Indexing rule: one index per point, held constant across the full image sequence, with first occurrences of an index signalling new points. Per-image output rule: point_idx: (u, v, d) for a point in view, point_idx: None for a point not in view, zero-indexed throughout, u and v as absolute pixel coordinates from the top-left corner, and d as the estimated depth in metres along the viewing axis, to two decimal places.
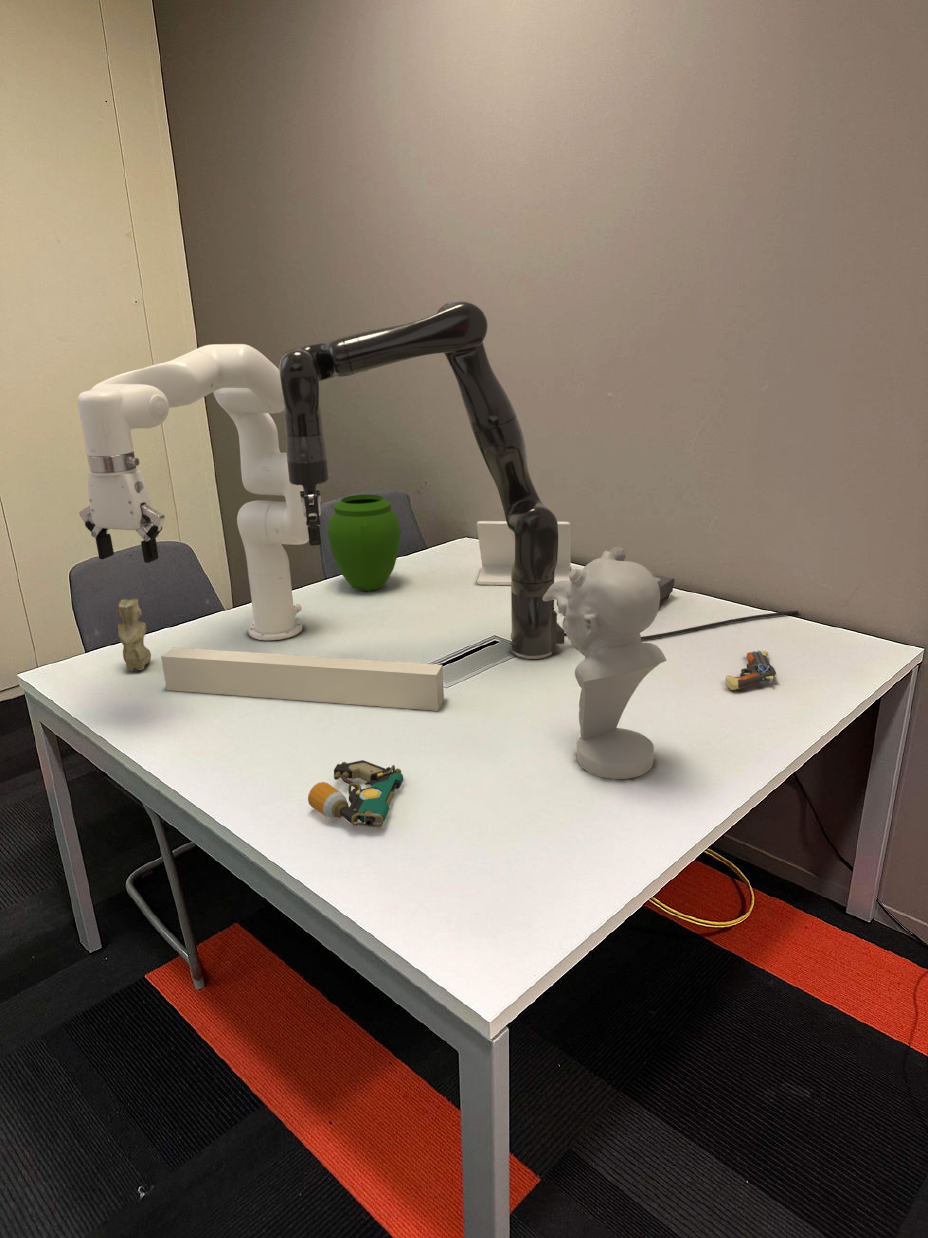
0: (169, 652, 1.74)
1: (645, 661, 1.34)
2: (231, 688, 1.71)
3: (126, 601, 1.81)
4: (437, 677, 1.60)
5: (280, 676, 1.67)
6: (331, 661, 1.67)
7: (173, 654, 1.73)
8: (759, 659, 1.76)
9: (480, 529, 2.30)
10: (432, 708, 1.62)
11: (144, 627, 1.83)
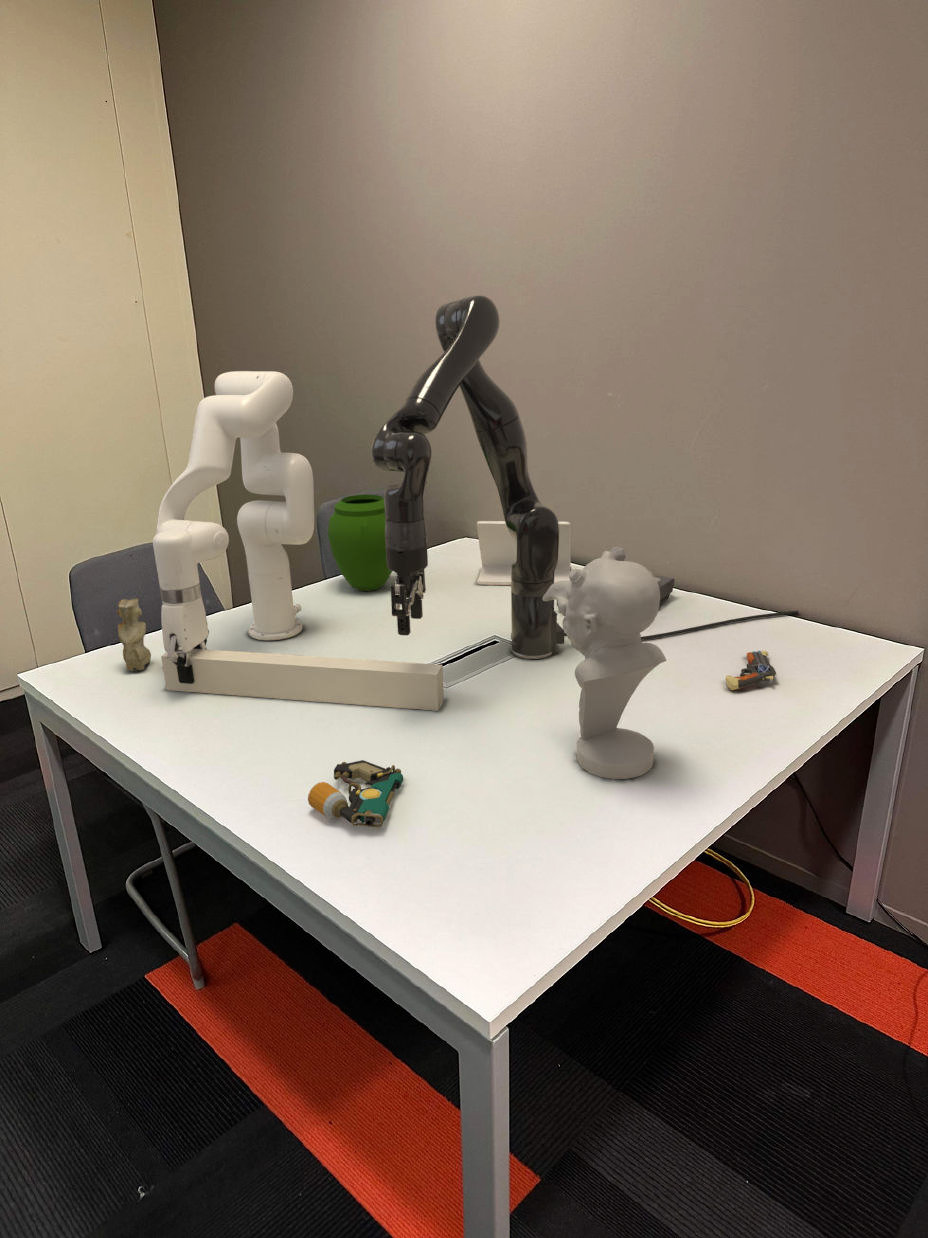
0: None
1: (645, 661, 1.34)
2: (231, 688, 1.71)
3: (126, 601, 1.81)
4: (437, 677, 1.60)
5: (280, 676, 1.67)
6: (331, 661, 1.67)
7: None
8: (759, 659, 1.76)
9: (480, 529, 2.30)
10: (432, 708, 1.62)
11: (144, 627, 1.83)
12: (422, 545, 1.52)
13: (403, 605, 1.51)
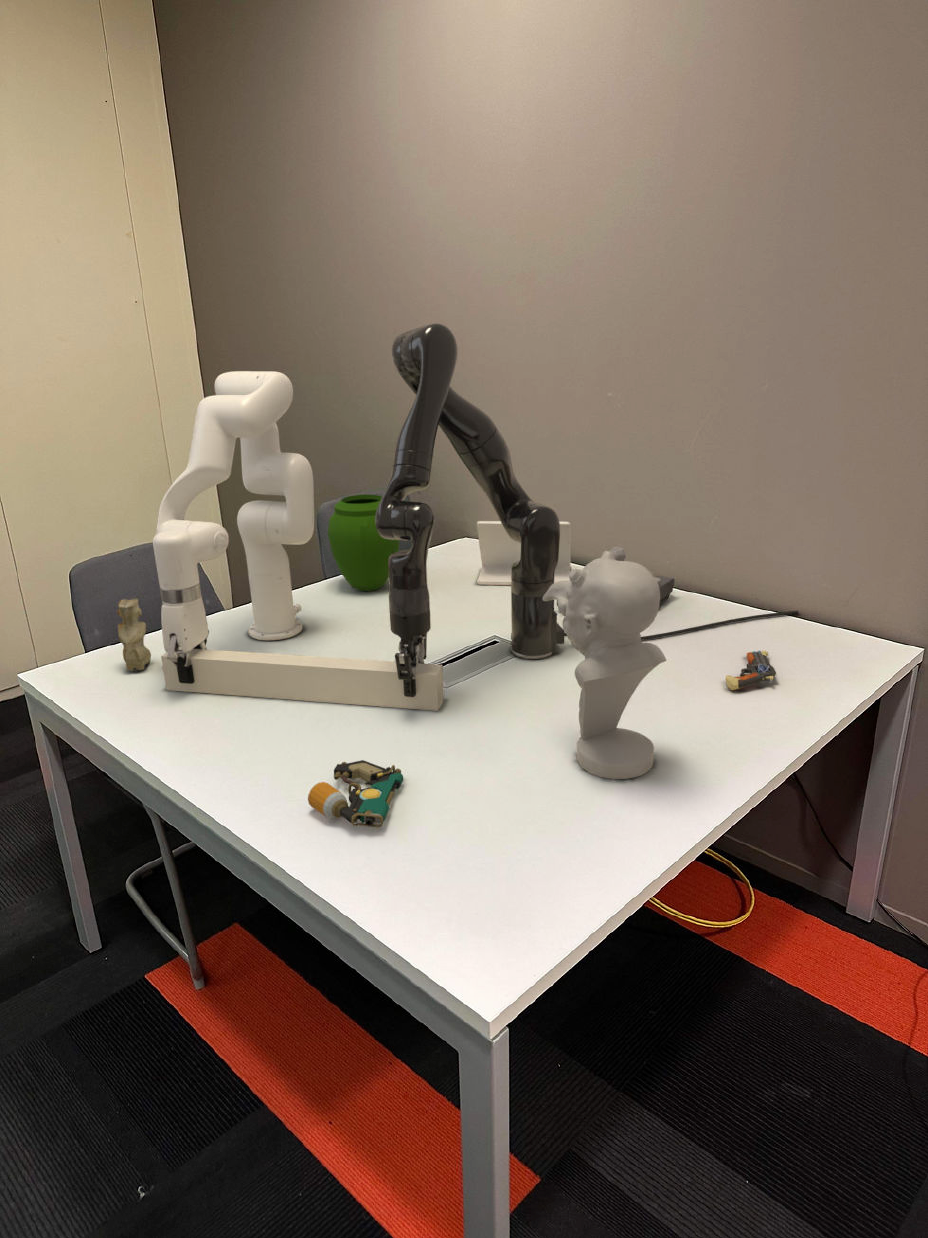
0: None
1: (645, 661, 1.34)
2: (231, 688, 1.71)
3: (126, 601, 1.81)
4: (437, 677, 1.60)
5: (280, 676, 1.67)
6: (331, 661, 1.67)
7: None
8: (759, 659, 1.76)
9: (480, 529, 2.30)
10: (432, 708, 1.62)
11: (144, 627, 1.83)
12: (425, 610, 1.56)
13: (408, 672, 1.57)
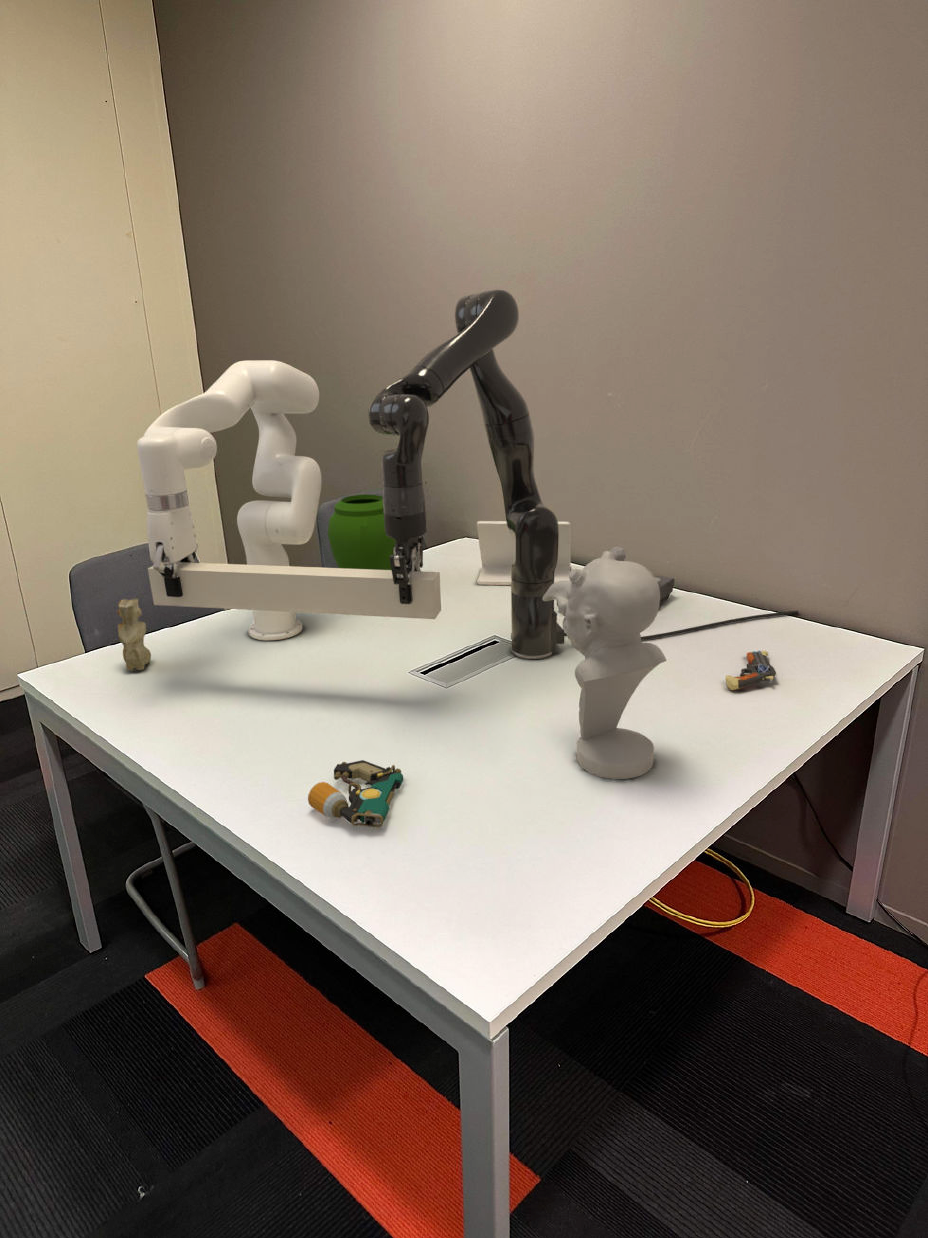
0: None
1: (645, 661, 1.34)
2: (220, 600, 1.65)
3: (126, 601, 1.81)
4: (434, 583, 1.54)
5: (271, 586, 1.61)
6: (323, 570, 1.61)
7: None
8: (759, 659, 1.76)
9: (480, 529, 2.30)
10: (429, 616, 1.56)
11: (144, 627, 1.83)
12: (420, 511, 1.50)
13: (403, 575, 1.50)
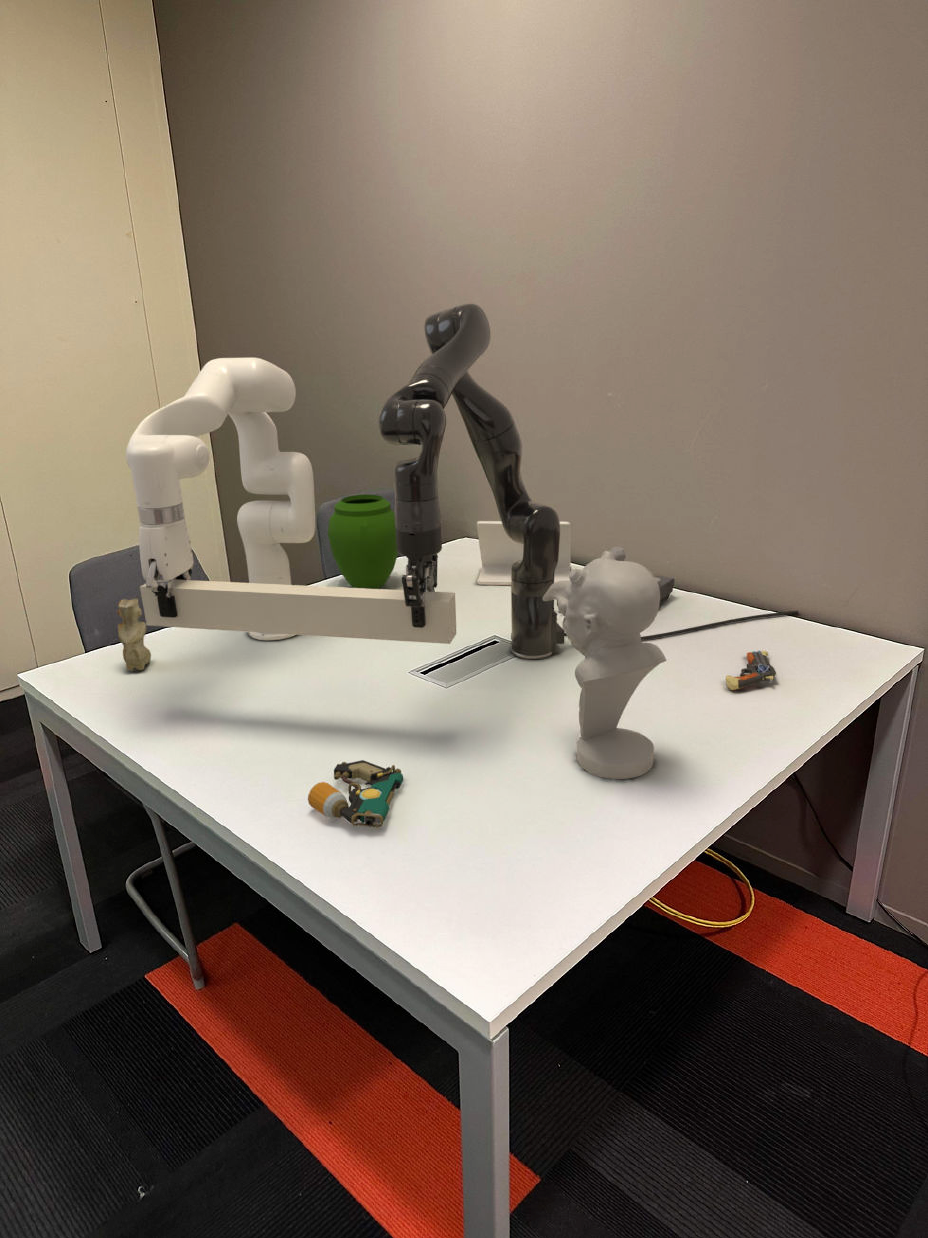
0: None
1: (645, 661, 1.34)
2: (218, 621, 1.53)
3: (126, 601, 1.81)
4: (449, 605, 1.42)
5: (272, 607, 1.49)
6: (329, 590, 1.49)
7: None
8: (759, 659, 1.76)
9: (480, 529, 2.30)
10: (443, 641, 1.44)
11: (144, 627, 1.83)
12: (436, 527, 1.38)
13: (417, 597, 1.38)
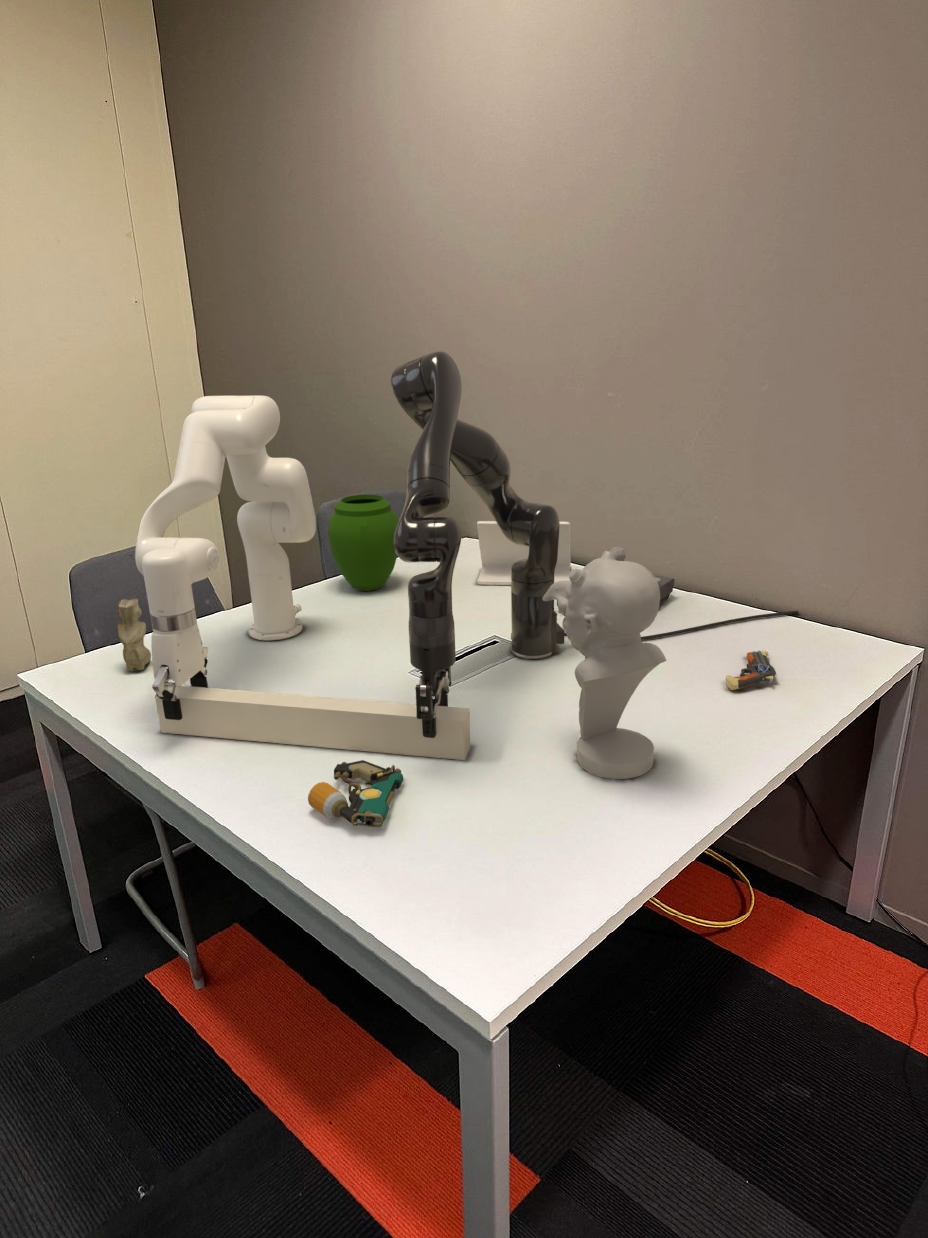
0: None
1: (645, 661, 1.34)
2: (233, 731, 1.53)
3: (126, 601, 1.81)
4: (464, 723, 1.43)
5: (287, 719, 1.50)
6: (344, 702, 1.49)
7: None
8: (759, 659, 1.76)
9: (480, 529, 2.30)
10: (458, 757, 1.45)
11: (144, 627, 1.83)
12: (450, 641, 1.38)
13: (429, 708, 1.37)
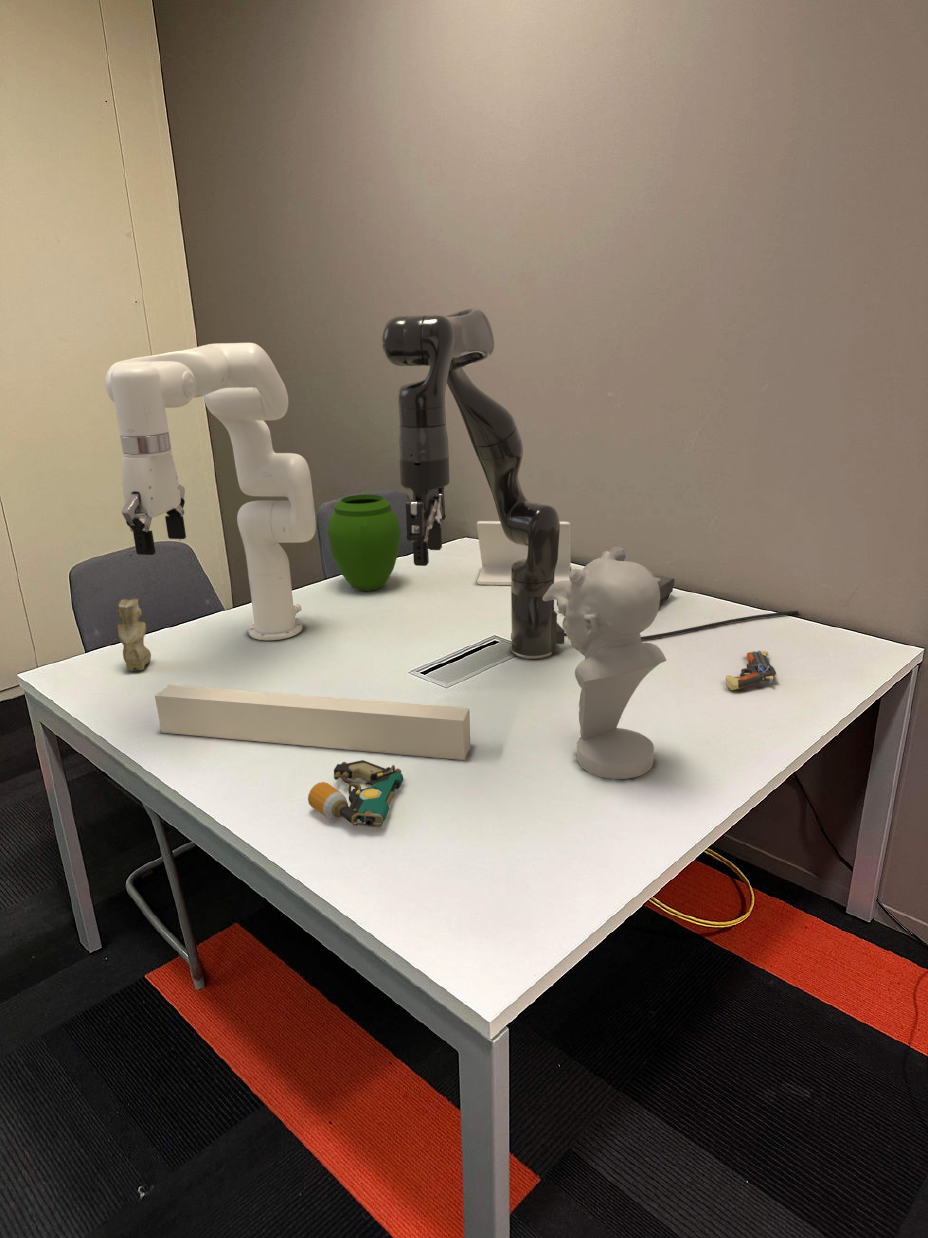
0: (164, 690, 1.56)
1: (645, 661, 1.34)
2: (233, 731, 1.53)
3: (126, 601, 1.81)
4: (464, 723, 1.43)
5: (287, 719, 1.50)
6: (344, 702, 1.49)
7: (169, 693, 1.55)
8: (759, 659, 1.76)
9: (480, 529, 2.30)
10: (458, 757, 1.45)
11: (144, 627, 1.83)
12: (443, 456, 1.27)
13: (420, 527, 1.26)
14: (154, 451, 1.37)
